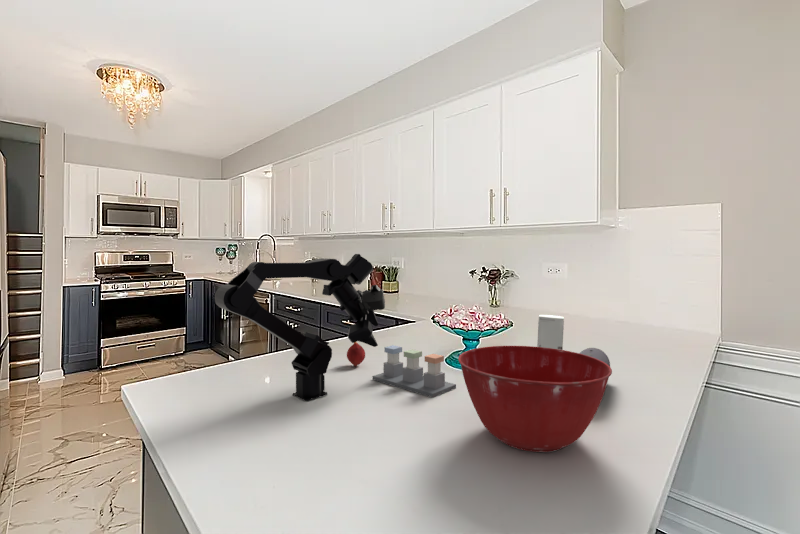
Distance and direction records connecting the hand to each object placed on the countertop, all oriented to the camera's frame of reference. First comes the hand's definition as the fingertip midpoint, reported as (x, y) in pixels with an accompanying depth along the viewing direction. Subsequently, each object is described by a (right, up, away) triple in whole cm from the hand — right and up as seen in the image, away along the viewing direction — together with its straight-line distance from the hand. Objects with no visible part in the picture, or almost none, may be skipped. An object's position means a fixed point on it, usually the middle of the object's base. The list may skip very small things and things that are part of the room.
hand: (376, 335), depth 121 cm
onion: (-7, -12, +14) cm, 20 cm away
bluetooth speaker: (+56, -13, -11) cm, 58 cm away
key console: (+10, -13, -4) cm, 17 cm away
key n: (+10, -9, -4) cm, 14 cm away
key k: (+16, -9, -10) cm, 20 cm away
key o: (+5, -8, +1) cm, 10 cm away
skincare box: (+57, -12, +22) cm, 62 cm away
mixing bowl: (+33, -14, -37) cm, 52 cm away
